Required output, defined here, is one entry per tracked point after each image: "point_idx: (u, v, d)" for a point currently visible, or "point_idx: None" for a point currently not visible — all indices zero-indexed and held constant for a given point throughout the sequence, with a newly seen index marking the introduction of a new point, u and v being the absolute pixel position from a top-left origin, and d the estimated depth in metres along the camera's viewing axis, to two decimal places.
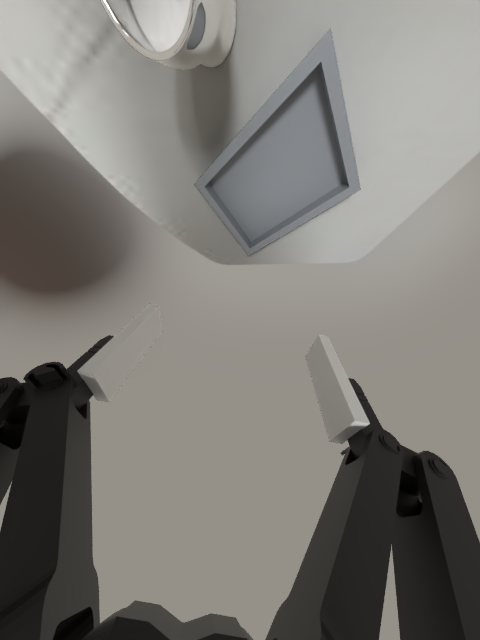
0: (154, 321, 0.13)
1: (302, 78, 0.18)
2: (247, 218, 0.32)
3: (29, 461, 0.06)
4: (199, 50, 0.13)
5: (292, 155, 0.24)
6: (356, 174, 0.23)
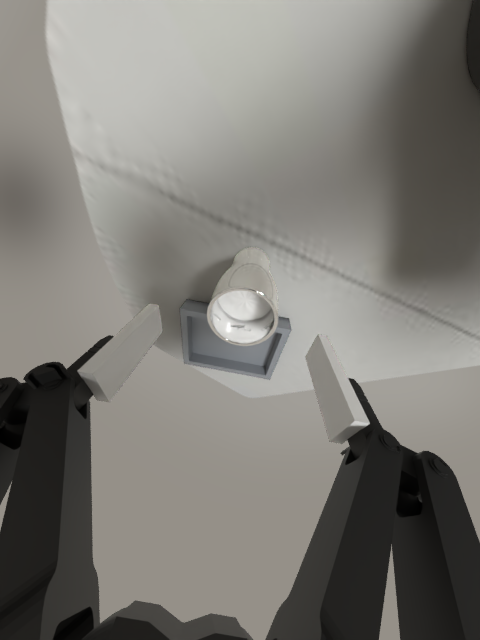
0: (154, 321, 0.13)
1: None
2: (201, 341, 0.37)
3: (29, 461, 0.06)
4: None
5: None
6: (271, 373, 0.37)
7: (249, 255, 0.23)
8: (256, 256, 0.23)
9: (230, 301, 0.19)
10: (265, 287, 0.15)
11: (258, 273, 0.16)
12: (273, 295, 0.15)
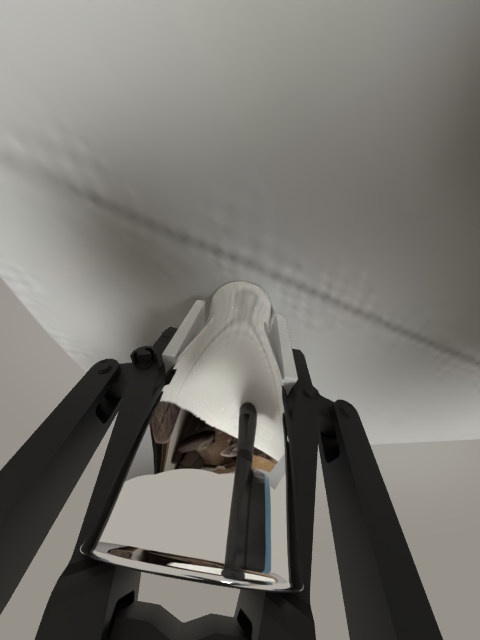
0: (202, 315, 0.15)
1: None
2: None
3: (121, 427, 0.07)
4: None
5: None
6: None
7: (234, 302, 0.13)
8: (247, 303, 0.13)
9: None
10: (262, 493, 0.05)
11: (243, 408, 0.06)
12: (287, 500, 0.05)
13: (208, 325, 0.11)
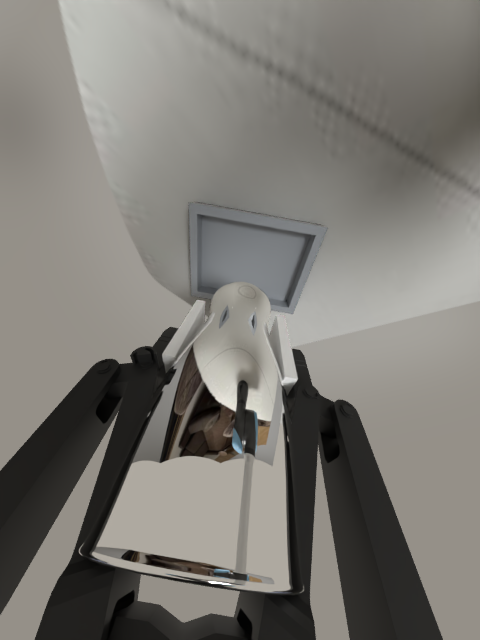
0: (202, 315, 0.15)
1: (304, 231, 0.24)
2: (212, 267, 0.31)
3: (122, 427, 0.07)
4: None
5: (271, 259, 0.30)
6: (295, 304, 0.31)
7: (234, 302, 0.13)
8: (247, 303, 0.13)
9: None
10: (263, 494, 0.04)
11: (243, 409, 0.06)
12: (287, 502, 0.05)
13: (208, 325, 0.11)
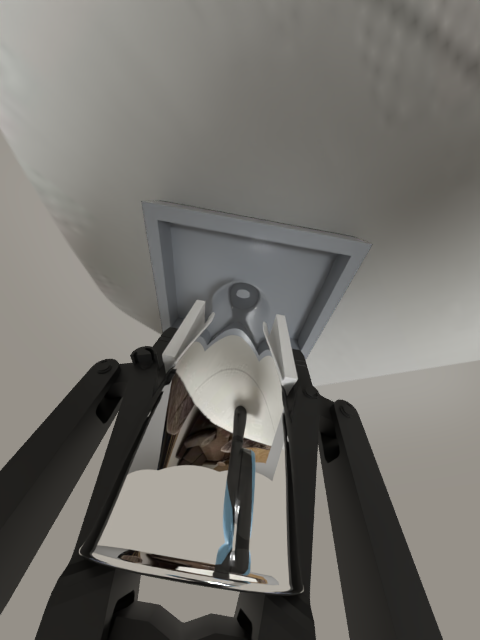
0: (202, 315, 0.15)
1: (332, 250, 0.15)
2: (191, 294, 0.22)
3: (122, 427, 0.07)
4: None
5: (276, 286, 0.20)
6: (310, 348, 0.22)
7: (234, 302, 0.13)
8: (247, 304, 0.13)
9: None
10: (263, 494, 0.04)
11: (243, 409, 0.06)
12: (287, 502, 0.05)
13: (208, 325, 0.11)
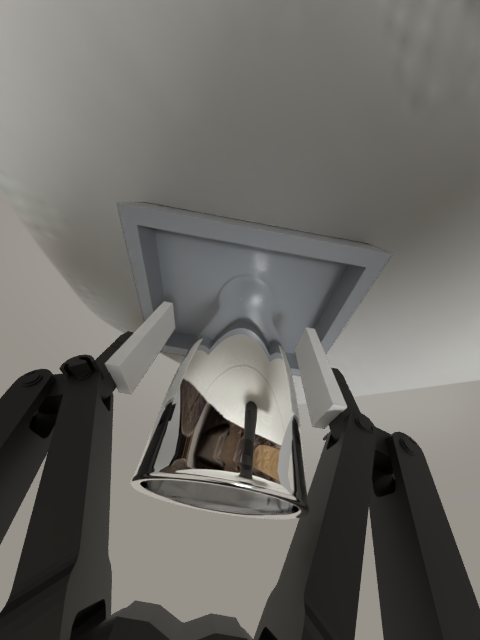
0: (168, 318, 0.14)
1: (344, 260, 0.13)
2: (182, 306, 0.20)
3: (60, 447, 0.06)
4: None
5: (277, 299, 0.18)
6: None
7: (242, 294, 0.14)
8: (253, 296, 0.14)
9: None
10: (275, 437, 0.06)
11: (257, 377, 0.07)
12: (295, 446, 0.06)
13: (220, 314, 0.12)
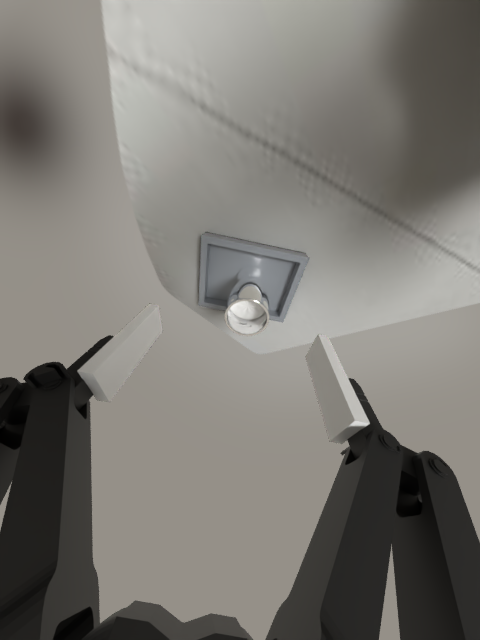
0: (154, 321, 0.13)
1: (291, 260, 0.31)
2: (216, 282, 0.38)
3: (29, 461, 0.06)
4: None
5: (265, 278, 0.36)
6: (285, 314, 0.38)
7: (249, 273, 0.33)
8: (254, 274, 0.33)
9: (237, 306, 0.28)
10: (261, 298, 0.24)
11: (257, 289, 0.25)
12: (266, 303, 0.25)
13: (241, 279, 0.30)
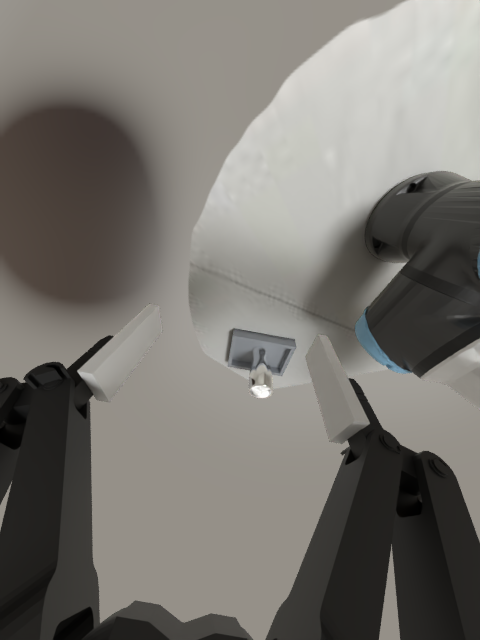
0: (154, 321, 0.13)
1: (285, 347, 0.53)
2: (239, 352, 0.60)
3: (29, 461, 0.06)
4: None
5: (270, 351, 0.58)
6: (283, 372, 0.60)
7: (260, 353, 0.54)
8: (263, 354, 0.54)
9: None
10: (268, 382, 0.46)
11: (265, 374, 0.47)
12: (271, 384, 0.46)
13: (256, 361, 0.52)
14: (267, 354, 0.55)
